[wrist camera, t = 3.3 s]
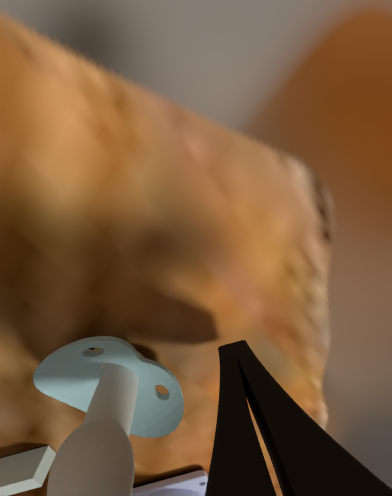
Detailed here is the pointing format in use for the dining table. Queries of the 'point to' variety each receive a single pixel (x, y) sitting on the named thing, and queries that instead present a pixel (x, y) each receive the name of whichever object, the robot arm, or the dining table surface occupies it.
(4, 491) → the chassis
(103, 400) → the pacifier
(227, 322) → the dining table surface
